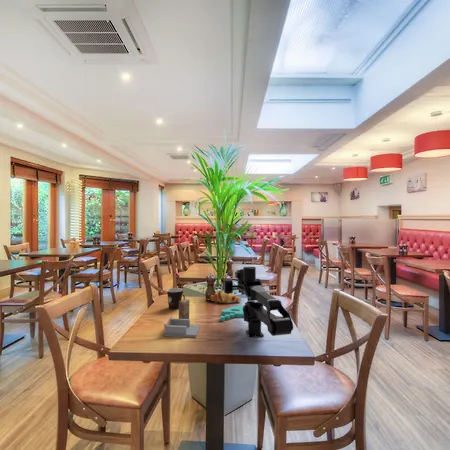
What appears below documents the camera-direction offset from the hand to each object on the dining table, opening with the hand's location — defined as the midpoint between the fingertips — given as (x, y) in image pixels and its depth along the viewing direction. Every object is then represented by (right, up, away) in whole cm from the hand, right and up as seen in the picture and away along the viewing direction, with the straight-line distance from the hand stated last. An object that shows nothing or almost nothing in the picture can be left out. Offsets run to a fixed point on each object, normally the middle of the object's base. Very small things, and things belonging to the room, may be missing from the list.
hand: (237, 283), depth 149 cm
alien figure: (+2, -17, +1) cm, 18 cm away
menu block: (-26, -17, -13) cm, 33 cm away
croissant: (-7, -17, +24) cm, 30 cm away
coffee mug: (-34, -16, +9) cm, 39 cm away
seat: (-25, -17, -23) cm, 38 cm away
